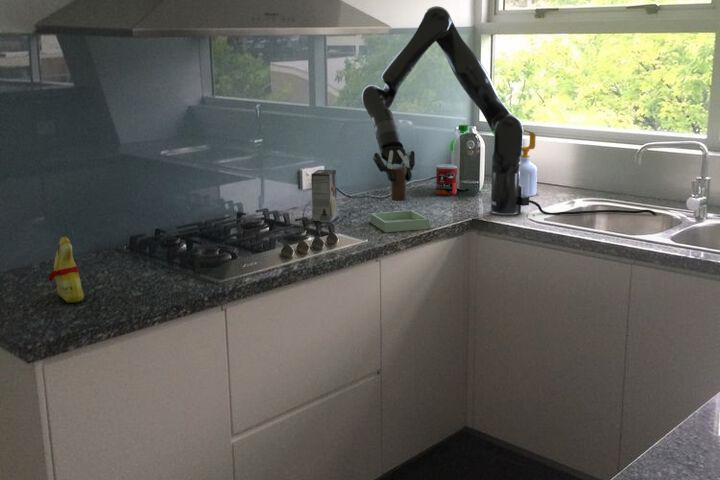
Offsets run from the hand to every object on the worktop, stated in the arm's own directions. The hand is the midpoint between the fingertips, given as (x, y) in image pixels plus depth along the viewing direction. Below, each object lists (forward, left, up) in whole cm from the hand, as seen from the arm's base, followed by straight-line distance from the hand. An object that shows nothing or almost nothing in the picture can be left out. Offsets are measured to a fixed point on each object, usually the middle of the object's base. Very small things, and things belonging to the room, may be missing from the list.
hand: (401, 179), depth 260 cm
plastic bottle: (-45, -52, -15) cm, 70 cm away
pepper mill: (0, -2, -7) cm, 7 cm away
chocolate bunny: (+100, +42, -15) cm, 110 cm away
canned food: (-35, -45, -15) cm, 59 cm away
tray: (0, -2, -15) cm, 15 cm away
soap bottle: (-62, -34, -15) cm, 72 cm away
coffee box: (+20, -19, -15) cm, 31 cm away
